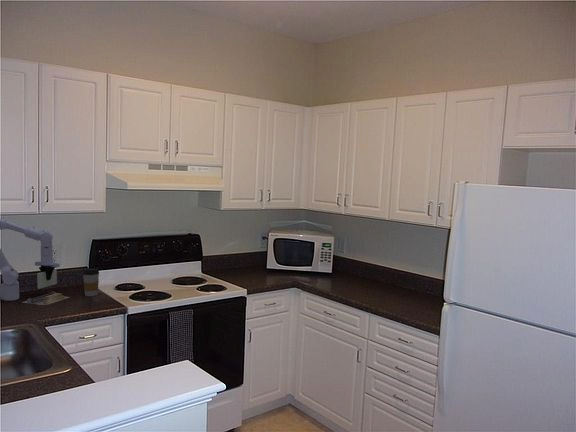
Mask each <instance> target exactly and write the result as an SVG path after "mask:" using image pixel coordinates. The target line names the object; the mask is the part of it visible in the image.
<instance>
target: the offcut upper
mask: <svg viewBox="0 0 576 432" xmlns="http://www.w3.org/2000/svg"><path fill="white" fill-rule="evenodd" d="M62 296H63V293H59V292H58V293H57V292H56V294H52V295H49V296H46V297H45V300H53V299H56V298H59V297H62Z"/></svg>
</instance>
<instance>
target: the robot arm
mask: <svg viewBox="0 0 576 432" xmlns="http://www.w3.org/2000/svg"><path fill="white" fill-rule="evenodd" d="M7 229H8V230H11V231H14V232H18V233H20V234H24V237H25V238H29V239H32V240H34V241H39V242H40V261H35V262H34V266H35V267H36V266H37V267H38V269H39V271H40V273H41V272H46V279H47V280H51V276H52V273H53V271H54V269H56V268H57V269H58V268H60V263H57V262H55V261H54V255H53V253H54V251H53V250H54V247H53V234H52V233H51V232H49V231H48V230H47V231H46V230H44V229H43V230H41V229H38V228H37V227H36V226H34V225H33V226H28V227H25V226H24V225H23V226H22V225H20V224H17V223H14V222H12V221H8V220H6V219H3V218H1V219H0V231H1V230H7ZM0 275H1V277H2V283H1V284H0V300H2V301H16V300H18V299H20V282H19V281H18V279H19V276H20V275H19V272H18V270H16V269H15V268H14V267H13V266H12V265H11V264H10V263H9V261H8V259H7V257H6V256H5V254H4V252H3V251H2V249H1V248H0Z"/></svg>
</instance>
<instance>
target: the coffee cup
mask: <svg viewBox="0 0 576 432" xmlns="http://www.w3.org/2000/svg"><path fill="white" fill-rule="evenodd" d="M82 276H83V277H82V279H83V290H84V291H83V292H84V296H85V297H95V296H98V294H99V292H98V291H99V283H100V282H99V280H100V279H99V277H100V271H99V268H96V267H90V268H84V269H83V272H82Z"/></svg>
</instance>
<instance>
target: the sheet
mask: <svg viewBox="0 0 576 432" xmlns="http://www.w3.org/2000/svg"><path fill="white" fill-rule="evenodd" d="M57 272H58V268H57V269H56V268H55V269H54V271H53V273H52V276H51V280H47V279H46V272H41V271H40V272H38V273H36V275H37V276H36V279H37V280H36V281H37V290H40V289H43V288H47V287H50V286H54V285H57V284H58V273H57Z"/></svg>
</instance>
